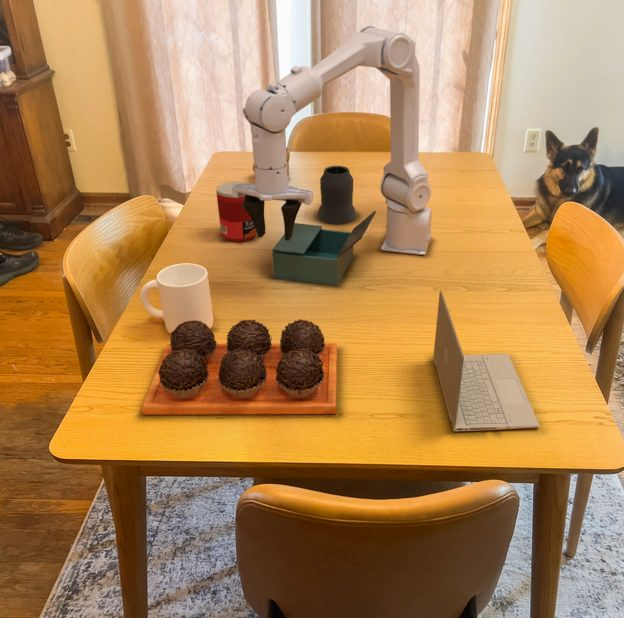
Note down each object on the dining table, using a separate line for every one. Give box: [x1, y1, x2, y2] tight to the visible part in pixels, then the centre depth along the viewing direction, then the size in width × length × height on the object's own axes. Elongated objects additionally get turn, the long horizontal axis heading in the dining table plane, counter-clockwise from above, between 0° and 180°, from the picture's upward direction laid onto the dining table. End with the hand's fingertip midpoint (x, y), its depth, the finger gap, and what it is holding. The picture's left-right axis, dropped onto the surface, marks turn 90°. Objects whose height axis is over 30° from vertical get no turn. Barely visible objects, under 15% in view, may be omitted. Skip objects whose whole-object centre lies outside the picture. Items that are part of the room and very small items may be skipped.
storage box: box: [271, 222, 354, 287], centre depth 135 cm, size 13×13×6 cm
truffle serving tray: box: [141, 318, 338, 416], centre depth 102 cm, size 28×17×8 cm, turn 91°
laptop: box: [433, 290, 541, 432], centre depth 99 cm, size 18×12×13 cm
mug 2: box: [317, 165, 357, 225], centre depth 156 cm, size 12×9×11 cm
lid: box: [337, 210, 377, 258], centre depth 130 cm, size 6×13×1 cm
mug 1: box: [139, 262, 214, 334], centre depth 115 cm, size 12×8×10 cm
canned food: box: [215, 181, 257, 243], centre depth 146 cm, size 8×8×11 cm
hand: (275, 236), depth 124 cm, fingers open, 5 cm apart
